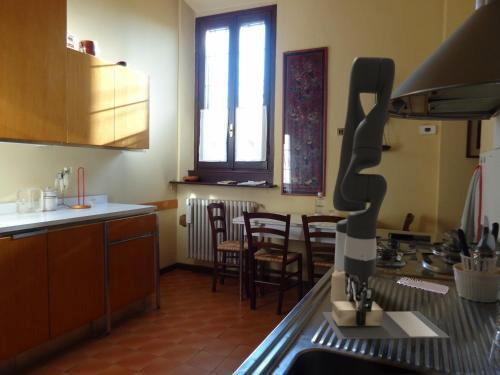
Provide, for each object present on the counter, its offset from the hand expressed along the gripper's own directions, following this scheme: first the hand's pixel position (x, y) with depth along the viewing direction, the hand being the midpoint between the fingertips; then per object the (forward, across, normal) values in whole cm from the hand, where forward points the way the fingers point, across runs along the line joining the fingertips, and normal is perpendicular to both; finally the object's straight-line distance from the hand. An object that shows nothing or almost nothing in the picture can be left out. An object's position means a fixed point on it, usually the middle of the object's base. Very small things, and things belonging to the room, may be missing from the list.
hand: (356, 319), depth 88 cm
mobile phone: (+2, -27, +33) cm, 43 cm away
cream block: (0, 0, 0) cm, 0 cm away
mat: (+2, 0, +7) cm, 7 cm away
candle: (+2, -13, 0) cm, 13 cm away
